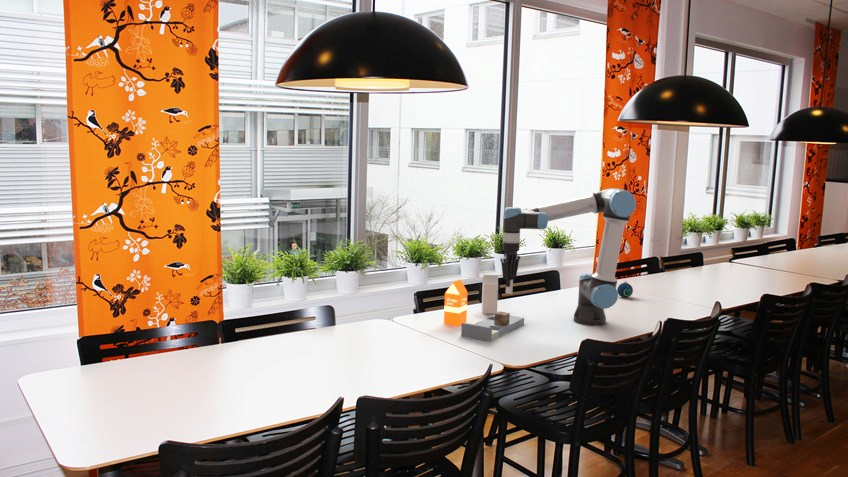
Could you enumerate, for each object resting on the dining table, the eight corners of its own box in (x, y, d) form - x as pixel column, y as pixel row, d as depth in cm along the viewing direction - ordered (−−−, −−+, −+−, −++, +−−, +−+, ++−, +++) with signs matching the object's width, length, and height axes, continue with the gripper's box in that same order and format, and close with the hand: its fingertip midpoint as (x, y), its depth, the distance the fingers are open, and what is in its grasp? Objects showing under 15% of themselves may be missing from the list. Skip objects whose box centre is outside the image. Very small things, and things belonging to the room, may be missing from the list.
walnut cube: (509, 323, 298) (509, 313, 298) (504, 326, 294) (505, 315, 294) (499, 322, 301) (499, 311, 300) (494, 324, 297) (494, 313, 296)
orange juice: (443, 323, 307) (444, 281, 305) (451, 319, 315) (453, 278, 313) (458, 326, 304) (460, 283, 301) (466, 321, 312) (468, 280, 309)
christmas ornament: (616, 298, 370) (617, 280, 368) (616, 295, 378) (618, 278, 376) (632, 299, 367) (633, 282, 366) (632, 296, 375) (633, 279, 374)
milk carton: (496, 314, 328) (498, 276, 325) (482, 313, 328) (483, 276, 325) (495, 310, 335) (497, 273, 332) (481, 310, 335) (483, 273, 332)
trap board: (523, 323, 311) (524, 311, 310) (490, 342, 280) (490, 328, 279) (496, 319, 318) (497, 307, 317) (461, 336, 287) (461, 322, 286)
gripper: (512, 239, 304) (510, 290, 307) (495, 242, 294) (493, 294, 297) (526, 241, 299) (523, 292, 302) (510, 244, 289) (507, 297, 292)
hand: (509, 293), depth 300 cm, fingers closed
